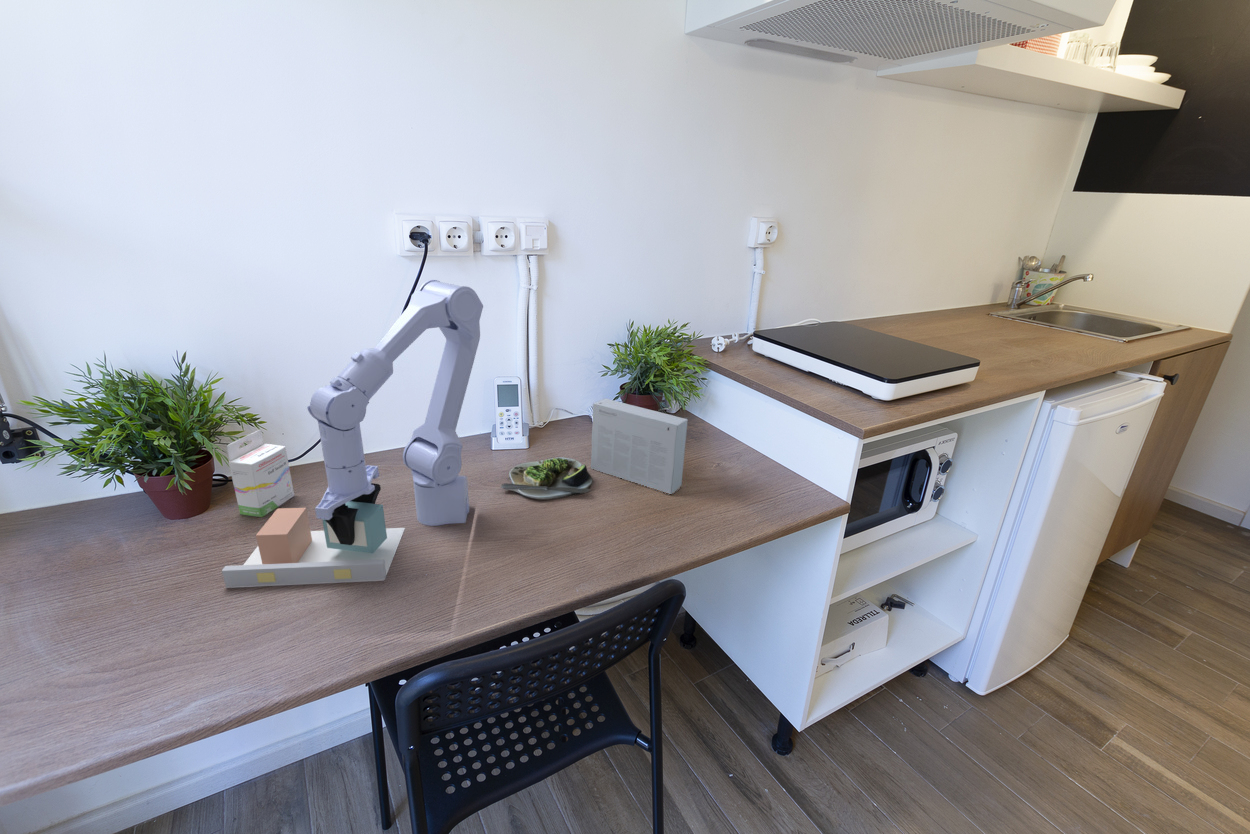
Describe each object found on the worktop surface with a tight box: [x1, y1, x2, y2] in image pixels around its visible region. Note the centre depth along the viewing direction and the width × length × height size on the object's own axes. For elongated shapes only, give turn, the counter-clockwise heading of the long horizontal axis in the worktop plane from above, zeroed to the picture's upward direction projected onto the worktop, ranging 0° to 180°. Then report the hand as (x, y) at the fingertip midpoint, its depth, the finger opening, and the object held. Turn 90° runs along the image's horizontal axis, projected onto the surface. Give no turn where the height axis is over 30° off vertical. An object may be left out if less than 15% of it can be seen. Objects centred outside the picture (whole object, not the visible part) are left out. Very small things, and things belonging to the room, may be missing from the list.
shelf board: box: [221, 527, 406, 589], centre depth 96 cm, size 23×15×4 cm, turn 98°
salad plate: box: [500, 456, 594, 501], centre depth 124 cm, size 19×18×5 cm
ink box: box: [226, 429, 295, 518], centre depth 108 cm, size 9×5×15 cm, turn 168°
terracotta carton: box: [255, 507, 312, 564], centre depth 95 cm, size 5×8×6 cm, turn 7°
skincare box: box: [590, 398, 689, 495], centre depth 126 cm, size 21×6×16 cm, turn 58°
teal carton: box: [321, 501, 387, 553], centre depth 96 cm, size 5×8×6 cm, turn 82°
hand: (356, 534), depth 97 cm, fingers closed on teal carton, 5 cm apart
